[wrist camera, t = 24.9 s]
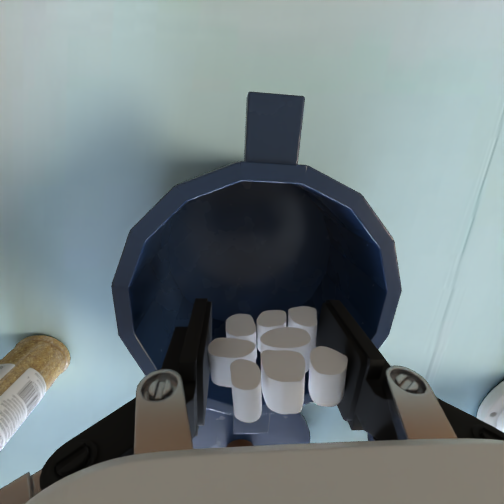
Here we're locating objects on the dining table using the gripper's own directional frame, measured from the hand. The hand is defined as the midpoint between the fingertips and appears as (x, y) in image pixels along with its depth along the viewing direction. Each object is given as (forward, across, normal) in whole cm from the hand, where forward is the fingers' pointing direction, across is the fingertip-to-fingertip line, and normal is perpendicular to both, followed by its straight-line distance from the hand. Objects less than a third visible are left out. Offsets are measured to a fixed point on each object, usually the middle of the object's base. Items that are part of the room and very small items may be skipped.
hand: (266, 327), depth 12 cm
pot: (+10, 0, 0) cm, 10 cm away
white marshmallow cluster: (+1, 0, 0) cm, 1 cm away
